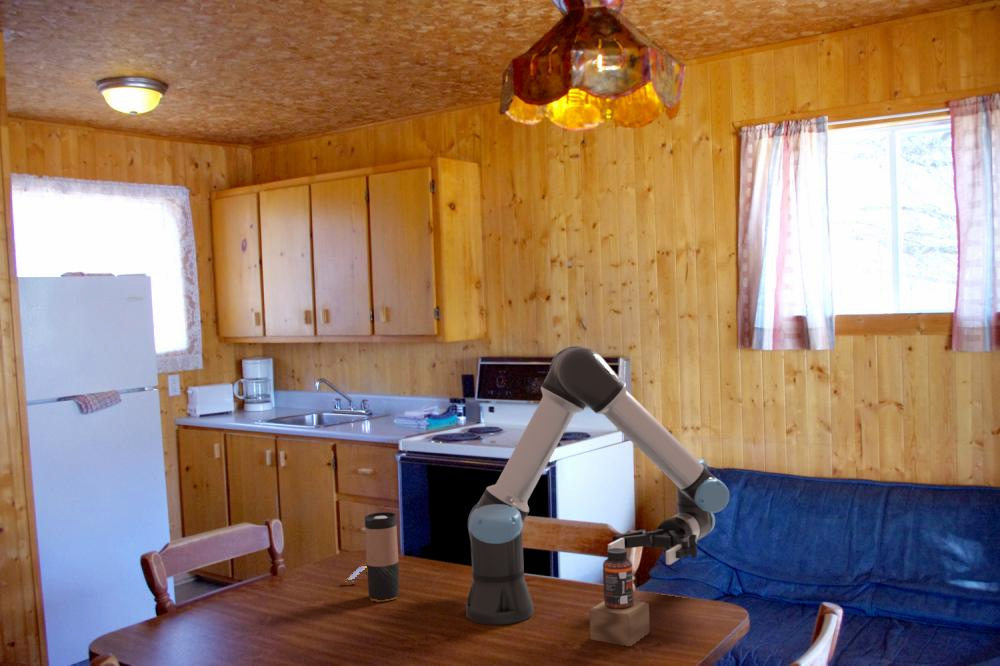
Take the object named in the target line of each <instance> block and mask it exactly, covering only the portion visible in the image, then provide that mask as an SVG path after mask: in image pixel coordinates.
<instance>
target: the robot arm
mask: <svg viewBox="0 0 1000 666" xmlns="http://www.w3.org/2000/svg"><path fill="white" fill-rule="evenodd" d="M540 391H541V394H542V398H541V399H540V401H539V403H538V405H537V407H536V409H535V411H534V413H533V415H531V418H530V420H529V422H528V424H527V426H526V427H525V428H524V431H523V433H522V435H521V436H520V438H519V440H518V442H517V444H516V446H515V448H514V449H513V452H512V453H511V455H510V457H509V459H508V461H507V463H506V464H505V466H504V468H503V471H502V472H501V474H500V475H499V478H498V479H497V481H496V483H495V484H492V485H489V486H487V487H486V489H485V490H484V492H483V494H482V496H481V498H480V499H479V501H478V502H477V503H476V504H474V506H473V507H472V509H471V511H470V513H469V515H468V517H467V518H468V519H467V530H468V534H469V540H470V541H469V542H470V552H471V553H470V555H471V556H470V557H471V571H472V574H471V575H472V581H471V585H470V589H469V593H468V596H467V600H466V605H465V611H466V612H465V613H466V615H465V616H466V618H467V619H469V621H472V622H474V623H477V624H481V625H489V626H490V625H494V626H496V625H497V626H498V625H509V624H515V623H519V622H523V621H525V620H527V619H529V618H531V617H533V615H534V612H535V610H534V601H533V599H532V596H531V594H530V590H529V587H528V585H527V582H526V579H525V570H524V569H525V568H524V567H525V566H524V546H523V545H524V544H523V526H524V525H523V524H524V522H525V520H526V517H527V516H528V514H529V512H530V507H529V505H528V501H529V499H530V497H531V495H532V493H533V491H534V489H535V488H536V486H537V484H538V482H539V480H540V478H541V476H542V475H543V473H544V472H545V470H546V467H547V466H548V464H549V461H550V460H551V457H552V456H553V455H554V454H553V453H555V450H556V449H557V447H558V445H559V443H560V441H561V439H562V437H563V435H564V434H565V432H566V430H567V428H568V426H569V424H570V422H571V421H572V418H573V417H574V415H575V414H578V413H581V412H583V411H584V410H585V408H586V406H587V407H589V409H591V410H592V411H593V412H594V413H595V414H599V415H601V414H602V415H603V416H604V417H605V418H606V419H608V421H610V423H612V424H613V425H614V426H615V427H616V428H617V430H619V431H620V432H621V433H622V434H623V435H624V436H625V437H626V438H627V439H628V440H629V441H631V443H632V444H633V445H634V446H636V448H637V449H639V451H640V452H642V453H643V454H644V455H645V456H646V458H648V459H649V460H650V461H651V462H652V463H653V464H654V466H656V467H657V468H658V469H659V470H660V471H661V472H662V473H664V474H665V476H666V477H667V478H669V480H671V481H672V483H674V484H675V485H676V502H677V504H676V506H677V507H676V509H677V513H676V514H675V515H673V516H671V517H669V518H666V519H665V520H664V521H661V522H660V523H659V525H658V526H657V529H655V530H651V531H646V529H644V528H642V529H639V530H636V531H630V532H625V533H619V534H614V535H612V536H611V538H612V539H611V540H612V541H611V542H610V543H608V544H607V550H609V549H612V548H622V549H625V550H626V549H631V548H641V547H642V548H643V547H647V548H650V549H651V548H659V549H661V548H662V549H664V550H665V564H666V565H667V566H670V565H672V564H674V563H675V562H676V561H678V560H680V559H682V558H688V557H689V556H691V557H692V558H698V542H697V541H699V540H701V539H703V538H705V537H707V536H708V535H709V534H710V533H711V532H712V531H713V529H714V527H715V524H716V517H715V514H717V513H719V512H721V511H723V510H724V509H725V508H727V505H728V504H729V503H730V502H729V501H730V495H731V494H730V490H729V489H728V486H726V484H725V483H724V482H723V481H722V480H720V479H718V478H717V477H715V476H714V474H713V473H711V471H709V469H708V465H707V464H708V463H707V461H706V460H704V459H702V458H696V457H695V456H694V455H693V454H692V453H691V452H690V451H689V450H688V449H687V448H686V447H685V446H684V445H683V444H682V443H681V442H680V441H679V440H678V439H677V438H676V437H675V436H674V435H673V434H672V433H671V432H670V431H669V430H668V429H666V428H665V426H664V425H662V424H661V423H660V422H659V421H658V420H657V419H656V418H655V417H654V415H652V413H650V412H649V411H648V410H647V409H646V408H645V407H644V406H643V405H642V404H641V403H640V402H639V401H638V400H637V399H636V398H635V397H634V396H633V395H632V394H631V393H630V392H629V391H628V390H627V384H626V382H625V381H624V380H623V379H622V378H621V377H620V376H619V375H618V374H617V373H616V371H615V370H614V369H613V368H612V367H611V366H610V365H609V364H608V362H607V361H606V360H605V359H604V358H603V357H602V355H601V354H599V353H598V352H597V351H595V350H593V349H591V348H588V347H583V346H578V345H576V346H575V345H573V346H569V347H568V346H567V347H565V348H563V349H562V350H560V351H559V352H557V353H556V355H554V357H553V358H552V360H551V362H550V365H549V372H548V373H547V375H546V377H545V379H544V381H543V383H542V385H541V386H540Z"/></svg>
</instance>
